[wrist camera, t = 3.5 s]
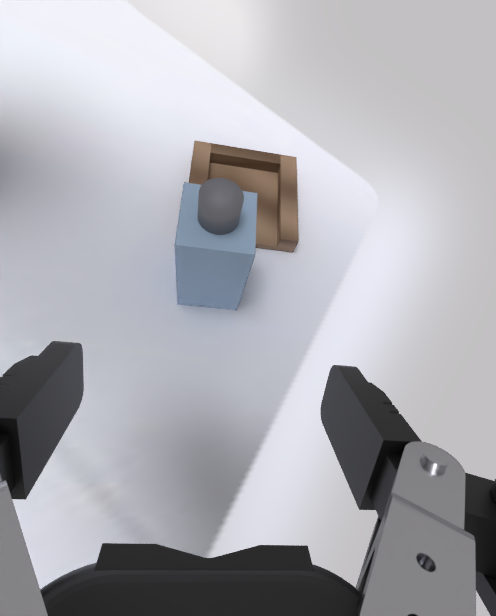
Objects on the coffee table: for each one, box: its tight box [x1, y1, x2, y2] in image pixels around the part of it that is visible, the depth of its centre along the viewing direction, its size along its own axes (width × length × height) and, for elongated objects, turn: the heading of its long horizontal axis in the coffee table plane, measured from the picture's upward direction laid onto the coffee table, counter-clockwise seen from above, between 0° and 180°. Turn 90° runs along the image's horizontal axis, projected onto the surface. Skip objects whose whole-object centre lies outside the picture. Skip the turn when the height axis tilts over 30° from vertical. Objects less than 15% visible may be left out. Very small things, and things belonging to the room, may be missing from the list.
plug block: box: [175, 178, 257, 310], centre depth 25 cm, size 5×5×10 cm
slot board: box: [189, 141, 298, 252], centre depth 33 cm, size 10×10×2 cm
